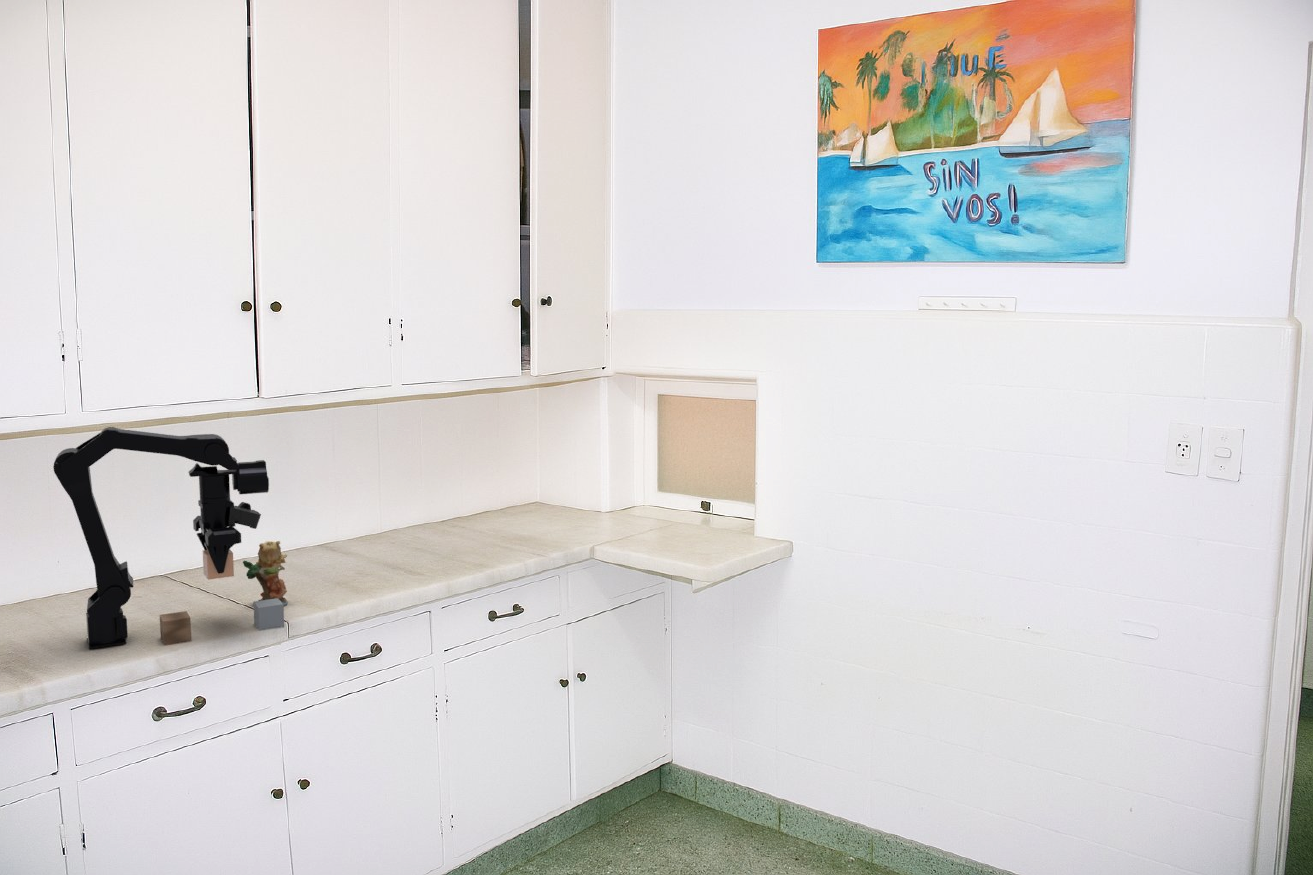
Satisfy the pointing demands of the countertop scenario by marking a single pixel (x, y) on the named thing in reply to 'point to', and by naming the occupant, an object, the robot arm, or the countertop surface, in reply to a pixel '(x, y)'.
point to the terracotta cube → (211, 570)
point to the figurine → (269, 571)
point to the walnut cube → (175, 628)
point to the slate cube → (268, 614)
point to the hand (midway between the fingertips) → (218, 570)
